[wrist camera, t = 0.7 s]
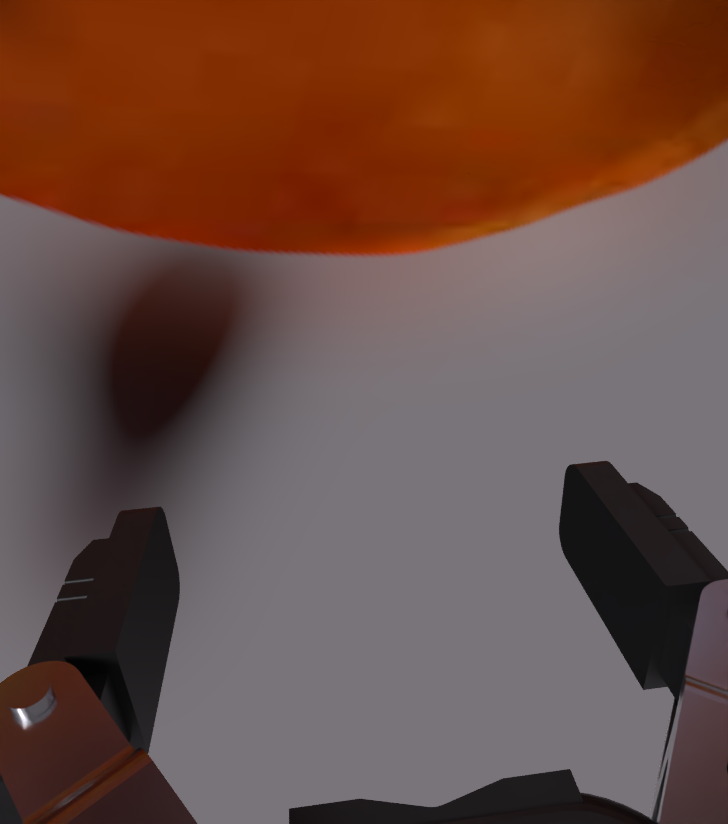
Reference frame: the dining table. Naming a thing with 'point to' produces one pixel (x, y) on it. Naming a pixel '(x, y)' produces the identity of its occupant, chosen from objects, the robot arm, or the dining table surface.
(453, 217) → the dining table surface
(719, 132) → the dining table surface
